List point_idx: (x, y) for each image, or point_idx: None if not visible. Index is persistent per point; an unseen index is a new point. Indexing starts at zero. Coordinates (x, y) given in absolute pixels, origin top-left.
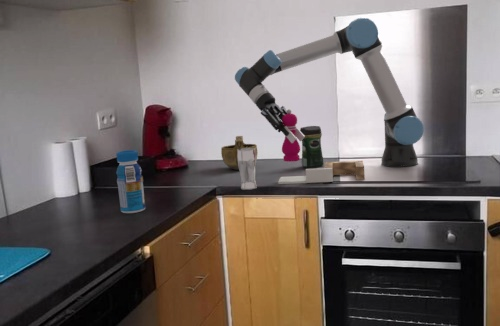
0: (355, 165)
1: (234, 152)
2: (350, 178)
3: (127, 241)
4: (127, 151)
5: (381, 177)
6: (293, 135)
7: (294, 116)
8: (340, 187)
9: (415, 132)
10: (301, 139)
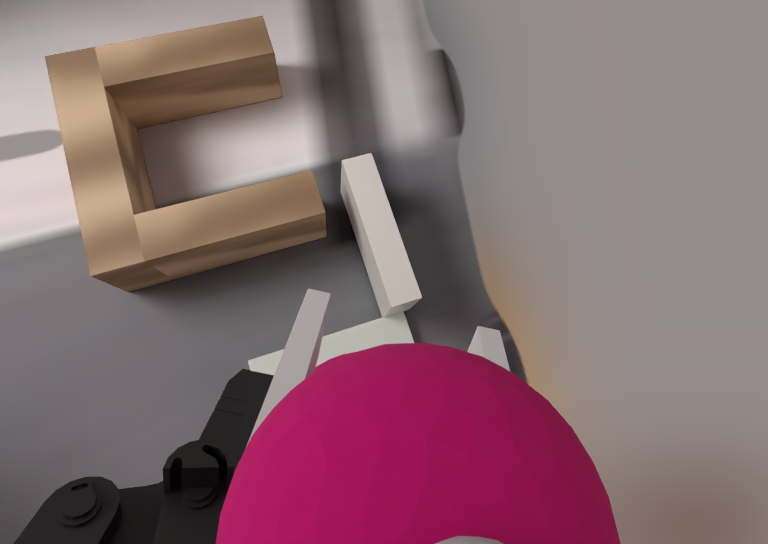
0: (157, 85)
1: None
2: (253, 130)
3: None
4: None
5: (219, 4)
6: (500, 360)
7: (477, 369)
8: (461, 127)
9: None
10: (322, 335)
